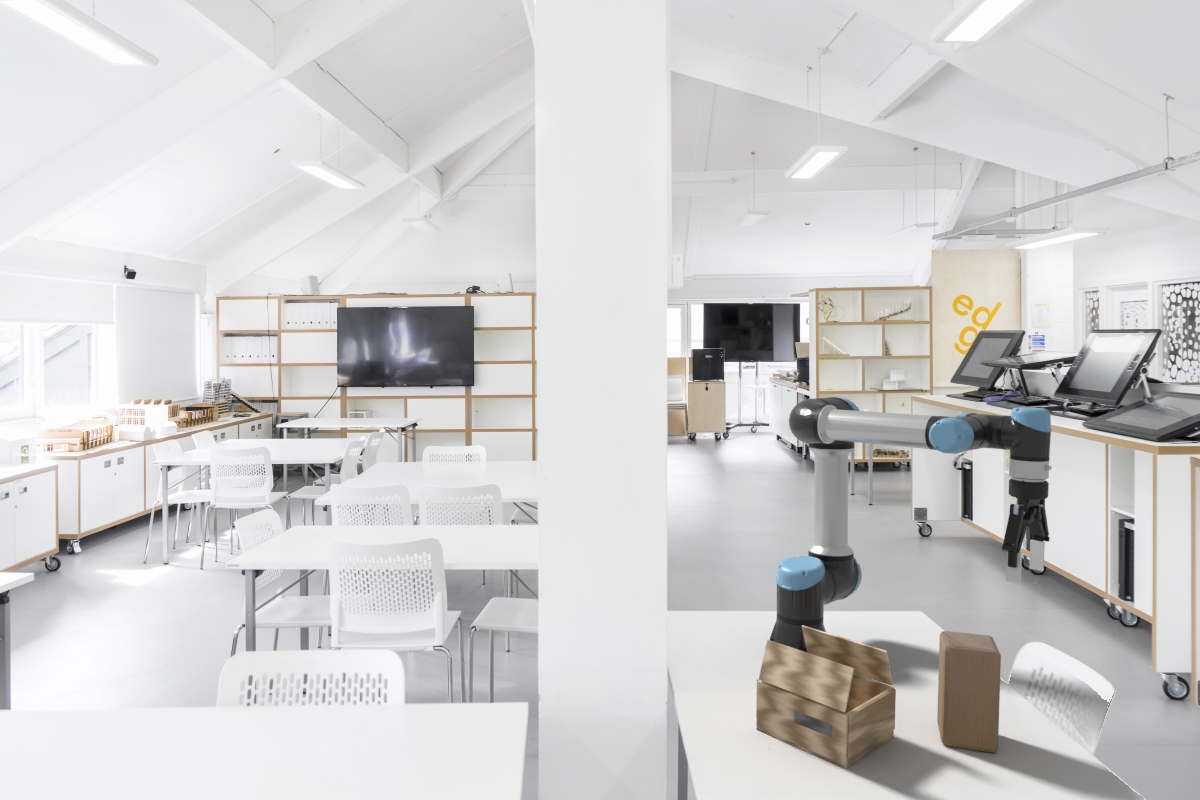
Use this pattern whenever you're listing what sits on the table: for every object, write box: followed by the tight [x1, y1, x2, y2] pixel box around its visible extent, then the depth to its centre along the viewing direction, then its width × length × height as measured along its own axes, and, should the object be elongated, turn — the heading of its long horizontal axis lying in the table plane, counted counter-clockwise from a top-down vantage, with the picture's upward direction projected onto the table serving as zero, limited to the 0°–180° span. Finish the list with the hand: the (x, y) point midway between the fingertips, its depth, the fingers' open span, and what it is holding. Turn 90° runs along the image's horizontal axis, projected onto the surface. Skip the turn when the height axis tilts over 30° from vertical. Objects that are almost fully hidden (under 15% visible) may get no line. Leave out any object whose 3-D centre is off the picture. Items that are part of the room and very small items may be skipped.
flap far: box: [802, 625, 894, 686], centre depth 159 cm, size 19×1×8 cm, turn 42°
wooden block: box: [936, 630, 1002, 754], centre depth 152 cm, size 10×10×20 cm
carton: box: [755, 673, 897, 770], centre depth 154 cm, size 21×18×10 cm
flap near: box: [758, 639, 854, 712], centre depth 149 cm, size 19×1×8 cm, turn 42°
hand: (1025, 575), depth 168 cm, fingers open, 13 cm apart
